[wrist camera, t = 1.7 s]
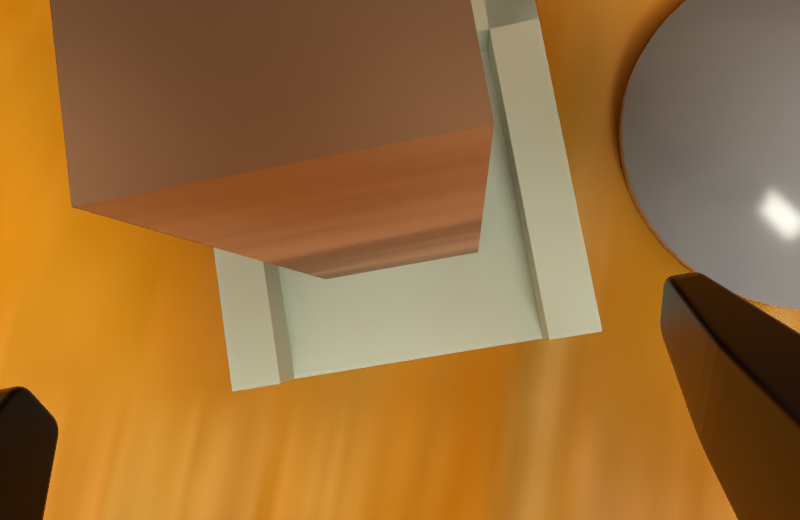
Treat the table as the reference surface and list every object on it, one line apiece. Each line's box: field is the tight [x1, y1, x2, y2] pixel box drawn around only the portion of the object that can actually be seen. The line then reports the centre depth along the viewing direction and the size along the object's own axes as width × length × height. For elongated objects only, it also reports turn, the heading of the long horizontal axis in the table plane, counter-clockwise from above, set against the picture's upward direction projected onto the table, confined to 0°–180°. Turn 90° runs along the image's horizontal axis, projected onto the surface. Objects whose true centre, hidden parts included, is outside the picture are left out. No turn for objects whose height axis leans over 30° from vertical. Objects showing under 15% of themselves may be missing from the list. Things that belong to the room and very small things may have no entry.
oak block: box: [50, 0, 494, 279], centre depth 14 cm, size 5×5×13 cm
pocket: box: [213, 0, 602, 392], centre depth 20 cm, size 11×11×2 cm
